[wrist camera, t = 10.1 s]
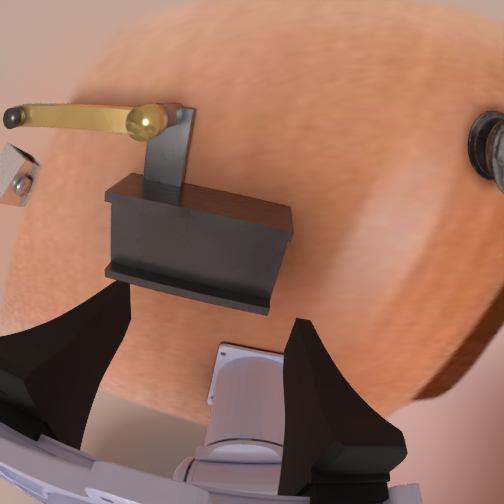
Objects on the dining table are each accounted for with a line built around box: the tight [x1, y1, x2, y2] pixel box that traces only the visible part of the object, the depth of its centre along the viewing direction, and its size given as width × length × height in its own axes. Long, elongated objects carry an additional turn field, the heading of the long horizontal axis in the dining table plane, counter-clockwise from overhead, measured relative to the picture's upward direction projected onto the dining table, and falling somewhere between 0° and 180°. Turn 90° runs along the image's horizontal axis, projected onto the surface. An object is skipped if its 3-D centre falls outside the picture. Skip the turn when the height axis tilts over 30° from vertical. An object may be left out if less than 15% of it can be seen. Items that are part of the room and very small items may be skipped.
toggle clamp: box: [105, 103, 294, 316], centre depth 19 cm, size 11×11×4 cm
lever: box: [3, 104, 168, 142], centre depth 14 cm, size 10×2×2 cm, turn 79°
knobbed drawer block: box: [0, 143, 41, 207], centre depth 21 cm, size 4×5×3 cm
